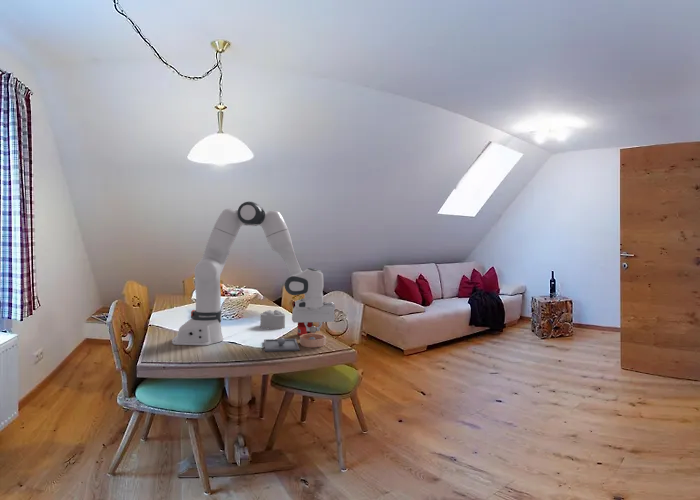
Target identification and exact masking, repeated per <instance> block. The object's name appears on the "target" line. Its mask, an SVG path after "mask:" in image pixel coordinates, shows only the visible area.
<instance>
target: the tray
mask: <svg viewBox="0 0 700 500" xmlns="http://www.w3.org/2000/svg"><path fill="white" fill-rule="evenodd" d="M278 339H279V338H276V339H275V338H273V339H271V338H270V339H263V346H264V352H265V353H269V352H270V353H272V352H273V353H274V352H278V353H279V352H300V346H299V344H298V343H299V342H298V341H297V338H284V339H285V343H284V344H283V345H279V344H278Z"/></svg>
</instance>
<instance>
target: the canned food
mask: <svg viewBox="0 0 700 500" xmlns="http://www.w3.org/2000/svg"><path fill="white" fill-rule="evenodd" d="M306 325H307V327H312V326H314V322H308V324H306ZM310 333H311V332H307V331H306V326H305V324H304V322H298V323H297V336H299V337H300V336H301V335H303V334H310Z"/></svg>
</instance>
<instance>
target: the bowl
mask: <svg viewBox="0 0 700 500" xmlns="http://www.w3.org/2000/svg"><path fill="white" fill-rule="evenodd" d="M310 337H314V338H315V339H316V340H310V339H309V338H310ZM326 344H327V336H326V335H324V334H321V333H316V332H315V333H310V334H303V335H301V336H299V345H300V346H301V347H305V348H311V349H312V348H322V347H325V346H326Z"/></svg>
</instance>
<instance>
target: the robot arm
mask: <svg viewBox="0 0 700 500" xmlns="http://www.w3.org/2000/svg"><path fill="white" fill-rule="evenodd" d="M242 226H249V227H257V226H260V227H261V229H262V230H263V233H264V235H265V237H266V241H267V242H268V244H269V246H270V248H271V250H272V251H273V252H275V253H277V254H278V255H279V256H280V257H281V258H282V260H283V261H284V264H285V266H286V268H287V270H288V273H289V277H288V278H286V280H285V282H284V289H285V291H286V292H287V294H289V295H291V296H298V295H300V296H301V295H304V298H301V299H297V300H295V301H294V304H295V306H294V307H292V308H293V309H292V314H291V321H292V322H293V323H294V324H295V323H297V324H298V322H304V324H305V326H306V331H307V332H310V327H307V325H306V324H308V322H313V323H318V326H315V327H316V329H317V331H316V332H320V331H321V327H322V325H323V323H333V322H335V320H336V319H335V310H336V305H335V303H334V302H332V301H331V302H330V301H329V302H324V292H323V290H324V273H323V272H322V270H321V269H318V268H313V267H307V268H306V269H305V270H303V268H302V266H301V264H300V262H299V260H298V257H297V254H296V252H295V248H294V246H293V241H292V237H291V234H290V230H289V227H288V226H287V223H286V221H285V218H284V217H283V215H282V214H281V212H280V211H278V210H273V209H271V210H268V211H265V209H264V208H263V207H262V206H261V205H260V204H259V203H257V202H253V201H244V202H243V203H241V204H240V205H239V206H238V208H237V210H236V209H234V208H225V209H223V210H222V212H221V213H220V215H219V216H218V217H217V220H216V221H215V223H214V226H213V228H212V230H211V233H210V234H209V237H208V239H207V242H206V246H205V248H204V251H203V254H202V257H201V259H200V260H199V261H198V262H197V263H196V265H195V267H194V287H195V309H192V310H191V312H190V319H189V320H188V321H186V322H185V323H184V324H182V325H181V326H180V327H179V328H178V331H177V334H176V336H174V337H173V338H172V340H171V344H173V345H175V346H176V345H177V346H179V345H180V346H210V345H212V344H217V343H219V342H222V341H224V335H223V332H222V325H221V322H222V315H223V314H222V310H221V306H222V305H221V304H222V303H221V300H222V299H221V298H222V294H221V274H222V273H223V270H224V267H225V266H226V263H227V260H228V257H229V255H230V252H231V250H232V247H233V245H234V242H235V240H236V238H237V235H238V232H239V231H240V229H241V227H242Z"/></svg>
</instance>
